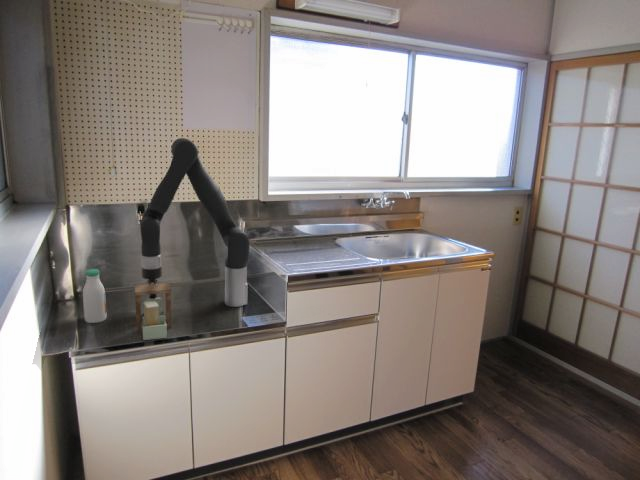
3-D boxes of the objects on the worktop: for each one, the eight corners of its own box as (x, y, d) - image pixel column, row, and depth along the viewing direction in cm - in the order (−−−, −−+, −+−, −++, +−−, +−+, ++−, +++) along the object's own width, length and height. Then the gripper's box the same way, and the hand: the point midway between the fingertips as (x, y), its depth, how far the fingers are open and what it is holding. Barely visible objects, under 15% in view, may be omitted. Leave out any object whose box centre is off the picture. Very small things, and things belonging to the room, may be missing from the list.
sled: (164, 314, 185) (163, 297, 183) (166, 337, 167) (166, 319, 165) (142, 316, 182) (141, 299, 181) (143, 340, 164) (142, 321, 162)
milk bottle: (103, 323, 175) (100, 274, 170) (81, 323, 174) (77, 273, 168) (109, 315, 182) (106, 267, 177) (88, 315, 181) (84, 267, 176)
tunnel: (170, 320, 181) (169, 283, 177) (171, 328, 175) (170, 289, 171) (136, 323, 176) (135, 285, 172) (136, 331, 170) (134, 292, 166)
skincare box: (144, 331, 171) (142, 301, 167) (156, 329, 173) (155, 299, 170) (147, 339, 165) (146, 307, 162) (160, 336, 168) (159, 305, 164)
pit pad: (163, 312, 188) (163, 311, 187) (164, 318, 183) (164, 317, 182) (142, 314, 185) (142, 313, 185) (142, 320, 180) (142, 319, 180)
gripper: (162, 270, 177) (163, 311, 181) (160, 259, 189) (161, 298, 193) (141, 271, 174) (143, 313, 179) (141, 260, 186) (142, 300, 191)
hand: (153, 305), depth 186 cm, fingers closed
